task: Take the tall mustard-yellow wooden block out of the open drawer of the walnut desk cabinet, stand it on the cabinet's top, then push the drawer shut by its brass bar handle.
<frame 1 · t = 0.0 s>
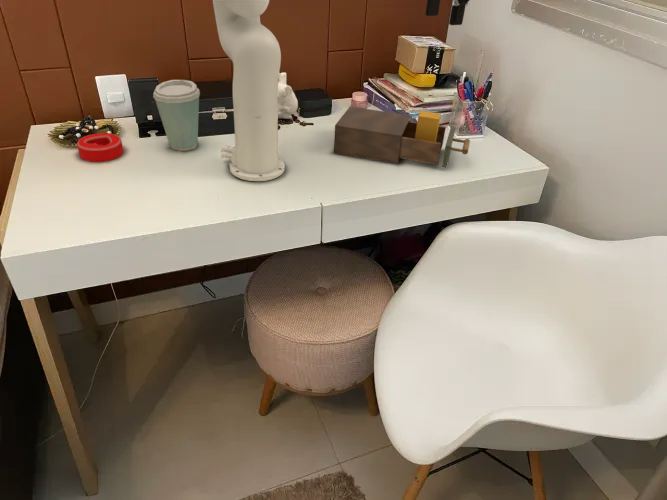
hand: (443, 19, 121), 31 cm above the table, tool pointing down, fingers open, 9 cm apart
block: (423, 149, 133), point 2 cm above the table, touching drawer
white figurine: (284, 117, 151), on the table
decorative ornament: (102, 153, 125), on the table
disposable coffee cup: (182, 146, 131), on the table
cabinet: (371, 147, 136), on the table
drawer: (428, 143, 131), point 4 cm above the table, slide at 10.5 cm, touching block
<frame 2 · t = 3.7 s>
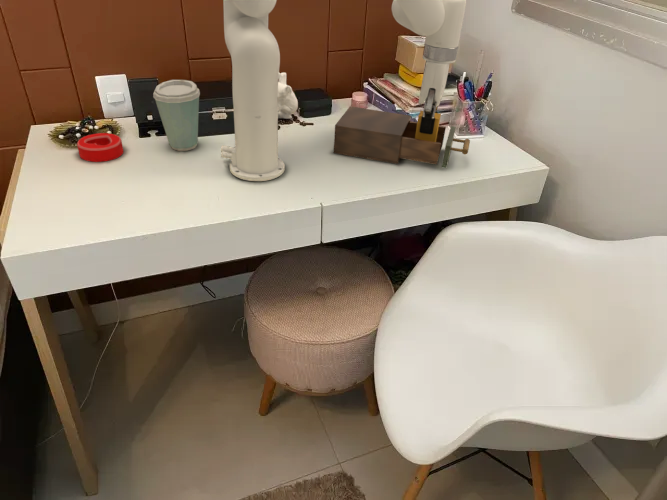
hand: (427, 128, 130), 7 cm above the table, tool pointing down, fingers closed on block, 4 cm apart
block: (423, 149, 133), point 2 cm above the table, touching drawer, gripper
everything else where it was.
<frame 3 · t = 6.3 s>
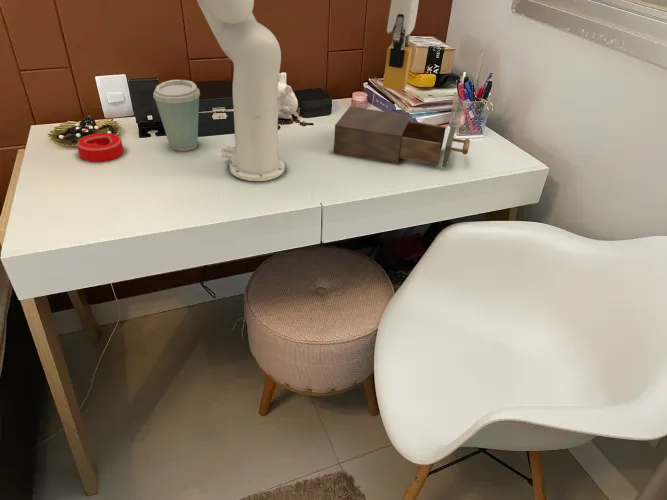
hand: (397, 63, 123), 22 cm above the table, tool pointing down, fingers closed on block, 4 cm apart
block: (394, 86, 126), point 16 cm above the table, touching gripper
drawer: (428, 143, 131), point 4 cm above the table, slide at 10.5 cm
everything else where it was.
when the fingers open (13 cm above the table, at t = 9.2 s): block stays where it is, resting on cabinet.
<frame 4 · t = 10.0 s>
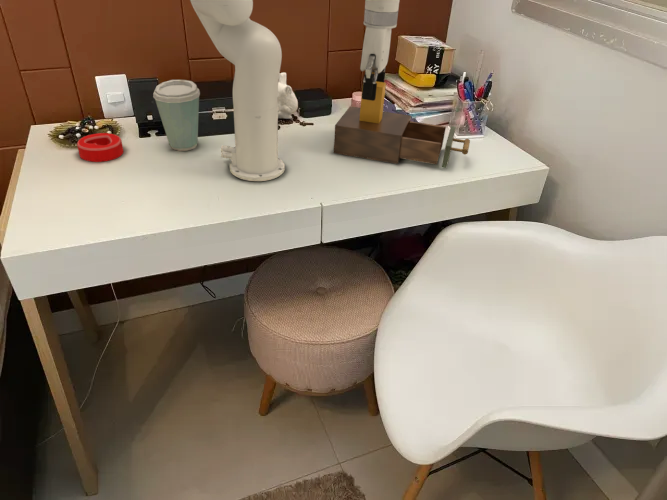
hand: (372, 93, 128), 14 cm above the table, tool pointing down, fingers open, 9 cm apart
block: (370, 119, 132), point 7 cm above the table, touching cabinet
everything else where it was.
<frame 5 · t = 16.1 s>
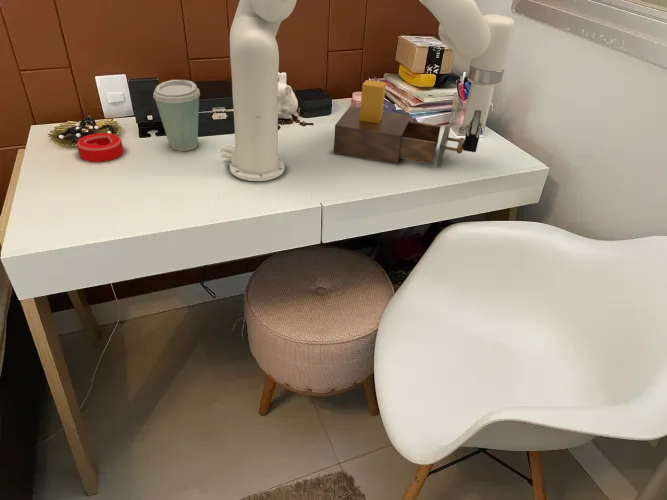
hand: (469, 150, 129), 4 cm above the table, tool pointing down, fingers closed
drawer: (423, 142, 132), point 4 cm above the table, slide at 9.2 cm
everything else where it was.
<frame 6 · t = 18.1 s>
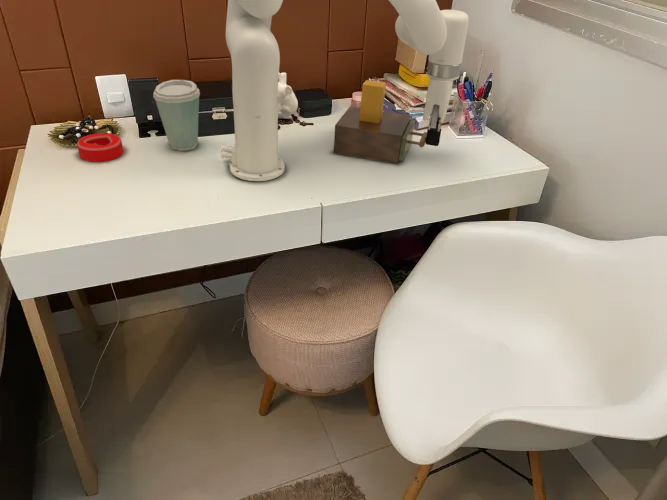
hand: (432, 143, 131), 4 cm above the table, tool pointing down, fingers closed
drawer: (387, 136, 133), point 4 cm above the table, slide at 0.0 cm, touching cabinet, gripper
everything else where it was.
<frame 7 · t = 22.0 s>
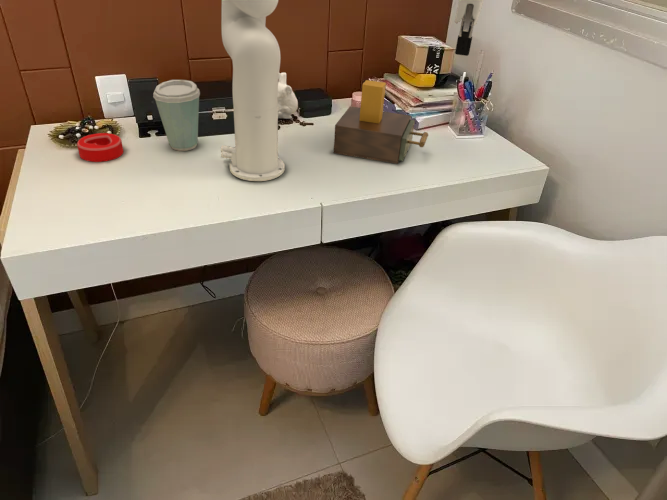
hand: (461, 54, 125), 24 cm above the table, tool pointing down, fingers closed
drawer: (387, 136, 133), point 4 cm above the table, slide at 0.0 cm, touching cabinet
everything else where it was.
at the end: block inside the target area on the cabinet (0.9 cm from its centre), point 7.4 cm above the cabinet's base; block tilted 0°; drawer slide at 0.0 cm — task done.
